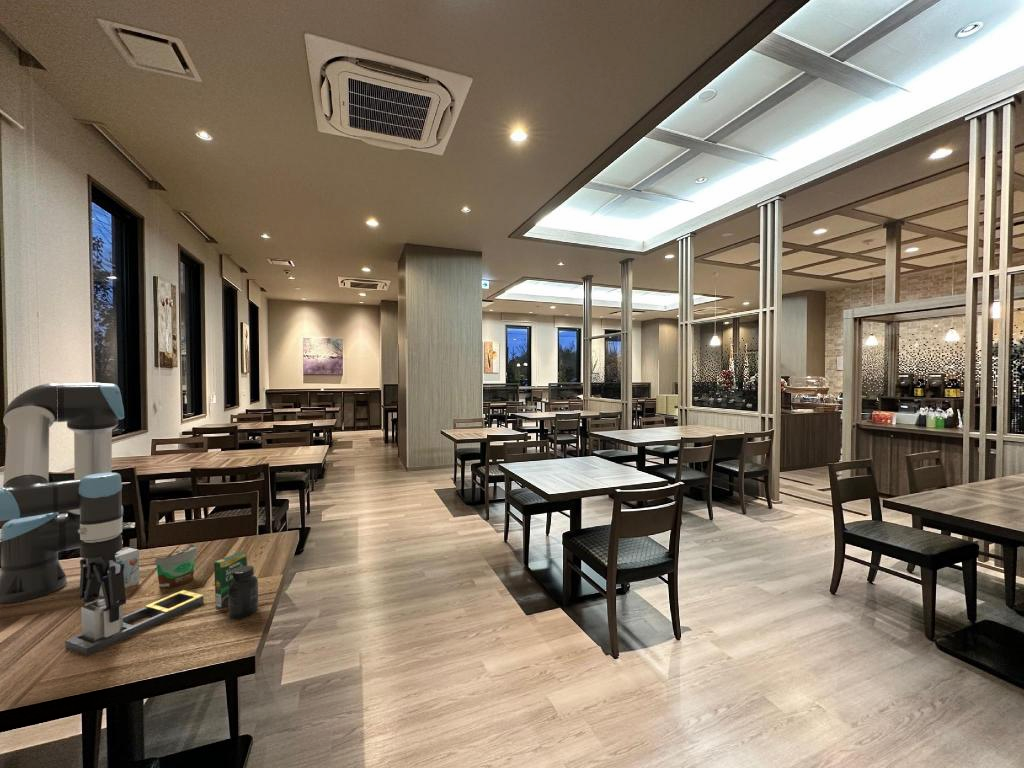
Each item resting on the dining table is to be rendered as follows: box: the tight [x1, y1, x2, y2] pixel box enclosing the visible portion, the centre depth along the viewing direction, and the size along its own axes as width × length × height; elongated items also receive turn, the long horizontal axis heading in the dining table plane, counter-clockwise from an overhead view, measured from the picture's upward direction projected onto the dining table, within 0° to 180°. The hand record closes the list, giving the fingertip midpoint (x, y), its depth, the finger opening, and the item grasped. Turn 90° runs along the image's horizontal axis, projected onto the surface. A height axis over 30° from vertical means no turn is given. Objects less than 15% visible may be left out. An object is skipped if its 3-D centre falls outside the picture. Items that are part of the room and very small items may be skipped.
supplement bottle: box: [228, 565, 259, 620], centre depth 117 cm, size 7×7×12 cm
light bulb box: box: [99, 546, 140, 598], centre depth 132 cm, size 11×7×11 cm, turn 161°
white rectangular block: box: [80, 598, 124, 643], centre depth 105 cm, size 6×6×9 cm
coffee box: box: [213, 551, 248, 610], centre depth 123 cm, size 8×3×13 cm, turn 157°
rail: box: [64, 589, 205, 657], centre depth 113 cm, size 9×26×2 cm, turn 158°
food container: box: [154, 543, 199, 590], centre depth 136 cm, size 12×6×10 cm, turn 168°
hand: (102, 630), depth 105 cm, fingers open, 7 cm apart
